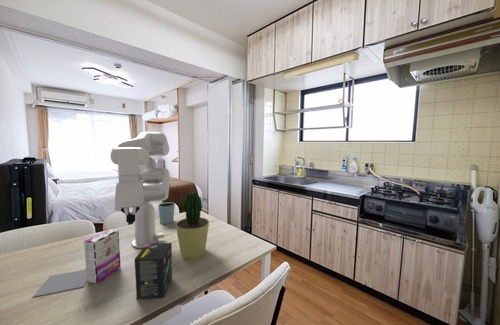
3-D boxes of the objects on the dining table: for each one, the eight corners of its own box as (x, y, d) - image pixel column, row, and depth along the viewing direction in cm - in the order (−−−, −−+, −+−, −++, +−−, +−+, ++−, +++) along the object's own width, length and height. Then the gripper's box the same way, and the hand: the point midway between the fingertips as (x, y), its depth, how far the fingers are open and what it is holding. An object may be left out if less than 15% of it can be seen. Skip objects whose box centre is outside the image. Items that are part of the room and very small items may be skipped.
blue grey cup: (155, 223, 136) (155, 205, 135) (164, 218, 146) (163, 201, 145) (169, 225, 134) (169, 206, 133) (177, 219, 144) (177, 202, 143)
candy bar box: (111, 265, 89) (109, 228, 87) (121, 267, 88) (119, 229, 86) (85, 282, 78) (83, 240, 77) (96, 284, 77) (94, 241, 76)
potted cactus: (195, 241, 112) (194, 186, 109) (215, 250, 103) (215, 190, 100) (169, 253, 99) (168, 191, 97) (190, 264, 90) (189, 197, 88)
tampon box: (148, 279, 81) (147, 242, 79) (172, 278, 81) (172, 242, 80) (135, 300, 70) (133, 258, 68) (163, 298, 70) (162, 257, 69)
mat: (93, 268, 86) (93, 268, 86) (83, 287, 75) (83, 286, 75) (50, 276, 81) (50, 275, 81) (32, 297, 70) (32, 296, 70)
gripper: (150, 176, 90) (151, 218, 91) (109, 178, 84) (111, 222, 85) (149, 179, 83) (150, 224, 84) (105, 181, 77) (106, 229, 78)
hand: (131, 223), depth 85 cm, fingers closed
